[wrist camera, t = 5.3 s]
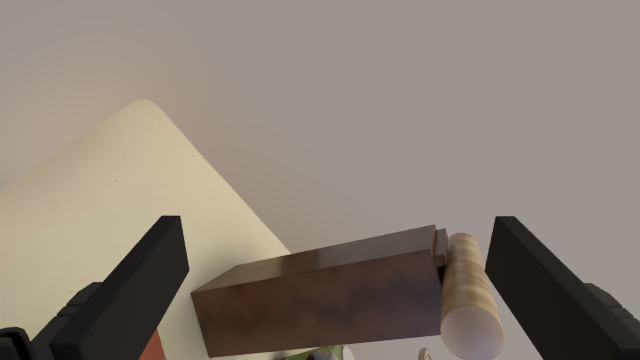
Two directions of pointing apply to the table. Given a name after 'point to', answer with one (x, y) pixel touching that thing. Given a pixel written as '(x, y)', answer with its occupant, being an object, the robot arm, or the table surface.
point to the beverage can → (325, 354)
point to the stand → (328, 296)
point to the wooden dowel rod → (469, 303)
